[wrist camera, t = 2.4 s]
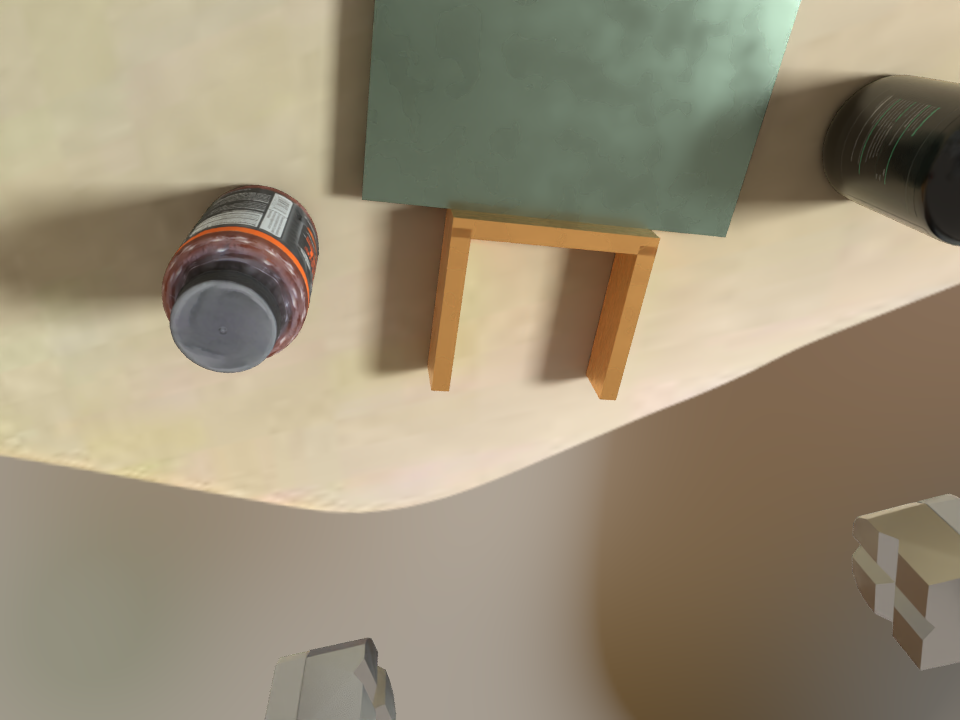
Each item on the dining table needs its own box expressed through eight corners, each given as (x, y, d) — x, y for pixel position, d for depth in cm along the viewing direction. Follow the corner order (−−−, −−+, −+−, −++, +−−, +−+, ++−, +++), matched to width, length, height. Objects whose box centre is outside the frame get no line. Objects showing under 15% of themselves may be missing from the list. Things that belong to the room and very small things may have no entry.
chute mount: (351, 360, 41) (349, 386, 38) (379, -78, 30) (380, -83, 28) (667, 379, 44) (685, 403, 42) (785, -5, 34) (819, -4, 32)
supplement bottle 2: (959, 115, 39) (1178, 165, 28) (872, 220, 41) (1043, 301, 31) (881, 47, 36) (1089, 73, 26) (793, 162, 39) (950, 229, 28)
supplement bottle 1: (320, 292, 38) (303, 400, 28) (207, 287, 37) (149, 396, 27) (320, 185, 36) (301, 263, 26) (198, 176, 35) (130, 254, 25)
